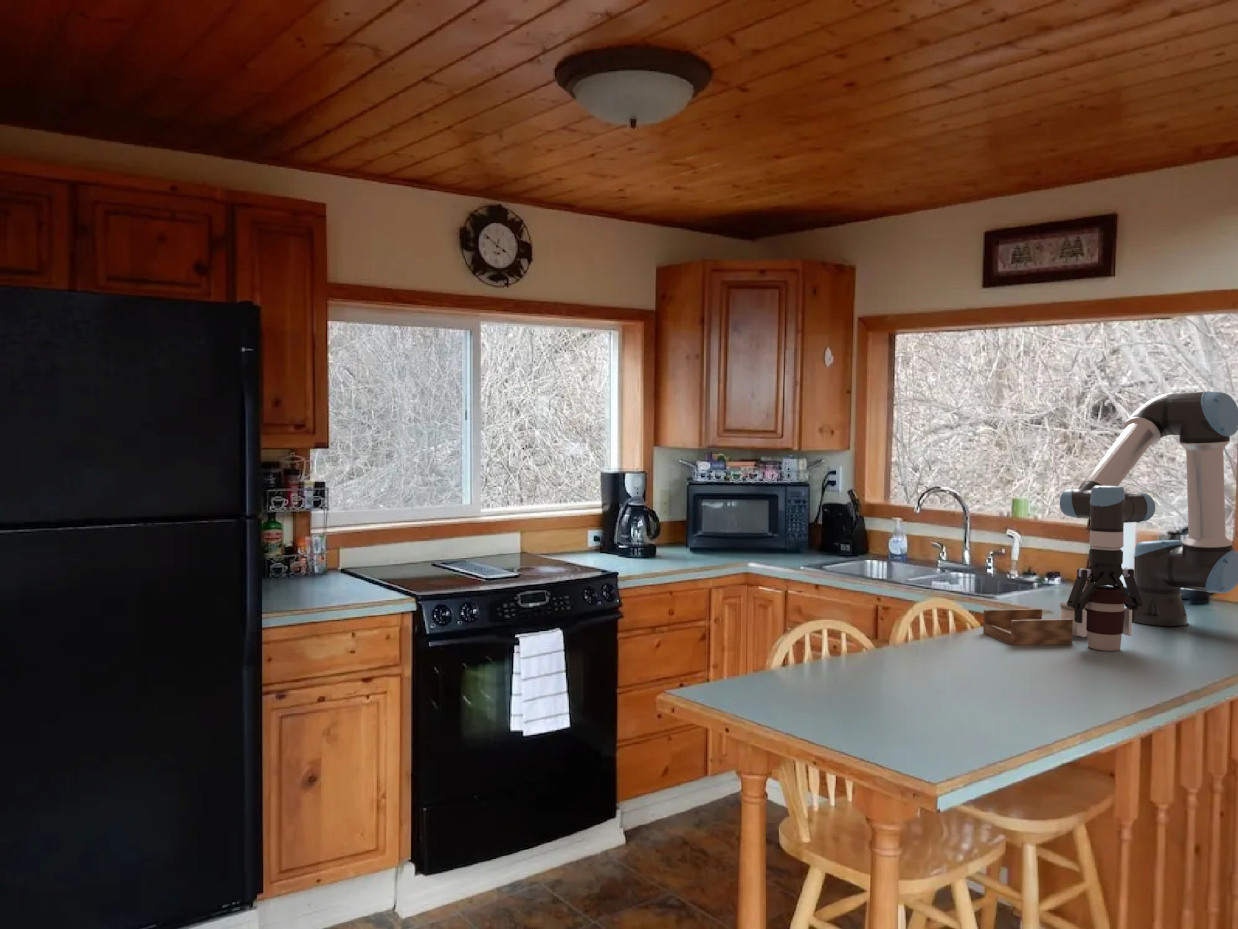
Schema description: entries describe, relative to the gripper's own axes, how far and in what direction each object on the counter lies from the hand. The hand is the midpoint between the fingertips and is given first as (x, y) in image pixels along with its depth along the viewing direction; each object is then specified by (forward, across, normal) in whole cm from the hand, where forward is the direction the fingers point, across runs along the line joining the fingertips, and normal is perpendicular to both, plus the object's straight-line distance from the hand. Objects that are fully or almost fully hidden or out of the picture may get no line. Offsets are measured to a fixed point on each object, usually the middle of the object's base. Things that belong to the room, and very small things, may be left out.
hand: (1104, 635), depth 242 cm
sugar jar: (+3, -3, -17) cm, 18 cm away
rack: (+3, +13, -13) cm, 19 cm away
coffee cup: (+3, 0, 0) cm, 3 cm away
